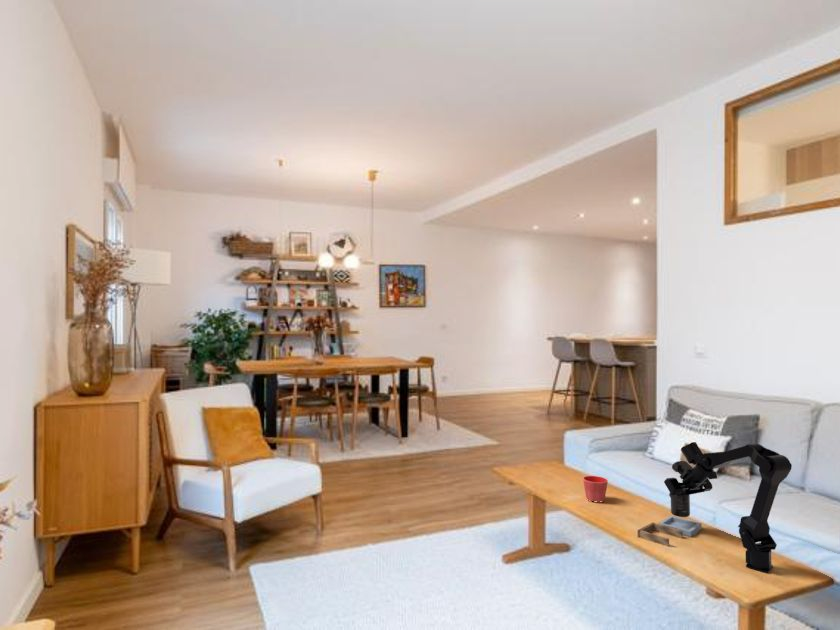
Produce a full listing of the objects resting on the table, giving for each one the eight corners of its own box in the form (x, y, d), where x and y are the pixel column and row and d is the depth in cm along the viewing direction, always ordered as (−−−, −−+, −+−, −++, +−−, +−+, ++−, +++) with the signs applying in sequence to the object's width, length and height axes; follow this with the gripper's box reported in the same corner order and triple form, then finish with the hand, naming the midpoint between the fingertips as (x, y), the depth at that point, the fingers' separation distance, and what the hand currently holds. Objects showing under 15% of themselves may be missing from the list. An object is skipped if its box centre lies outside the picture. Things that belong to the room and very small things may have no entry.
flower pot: (602, 496, 251) (602, 475, 251) (611, 504, 240) (611, 482, 240) (580, 496, 251) (579, 475, 251) (588, 504, 240) (587, 482, 240)
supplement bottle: (667, 511, 215) (667, 481, 215) (685, 511, 214) (684, 481, 215) (675, 517, 208) (674, 486, 208) (693, 517, 208) (692, 486, 208)
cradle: (682, 537, 203) (682, 530, 203) (667, 546, 195) (667, 539, 195) (652, 528, 211) (652, 522, 211) (637, 536, 204) (637, 530, 204)
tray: (701, 528, 211) (701, 523, 211) (690, 537, 203) (690, 531, 203) (670, 520, 220) (670, 515, 220) (658, 528, 211) (658, 523, 211)
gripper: (705, 454, 211) (684, 475, 221) (667, 457, 205) (647, 479, 215) (723, 479, 203) (700, 500, 213) (683, 484, 197) (662, 505, 208)
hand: (677, 495), depth 213 cm, fingers closed on supplement bottle, 7 cm apart
